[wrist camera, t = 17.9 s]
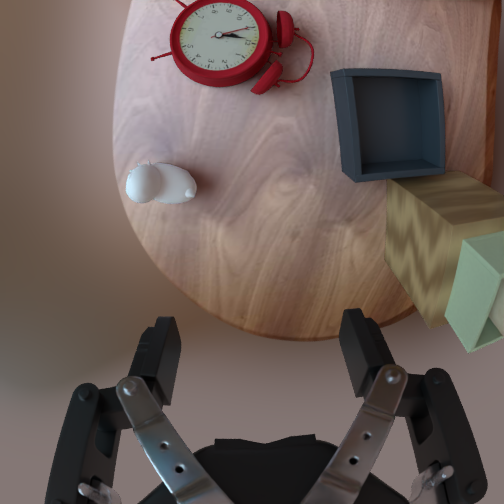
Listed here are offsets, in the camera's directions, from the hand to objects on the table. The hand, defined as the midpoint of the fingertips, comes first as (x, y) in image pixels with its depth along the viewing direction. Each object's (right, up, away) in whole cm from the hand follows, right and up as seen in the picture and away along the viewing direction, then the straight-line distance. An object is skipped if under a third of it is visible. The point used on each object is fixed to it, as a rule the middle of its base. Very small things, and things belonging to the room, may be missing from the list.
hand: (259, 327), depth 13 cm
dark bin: (+15, +19, +15) cm, 28 cm away
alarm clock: (-2, +25, +11) cm, 27 cm away
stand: (+23, +8, +21) cm, 32 cm away
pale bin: (+23, +2, +9) cm, 25 cm away
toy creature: (-10, +12, +19) cm, 24 cm away
